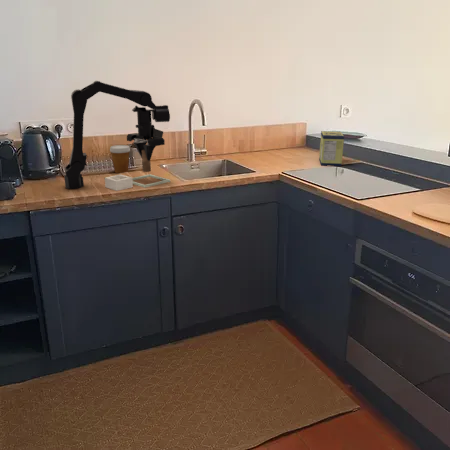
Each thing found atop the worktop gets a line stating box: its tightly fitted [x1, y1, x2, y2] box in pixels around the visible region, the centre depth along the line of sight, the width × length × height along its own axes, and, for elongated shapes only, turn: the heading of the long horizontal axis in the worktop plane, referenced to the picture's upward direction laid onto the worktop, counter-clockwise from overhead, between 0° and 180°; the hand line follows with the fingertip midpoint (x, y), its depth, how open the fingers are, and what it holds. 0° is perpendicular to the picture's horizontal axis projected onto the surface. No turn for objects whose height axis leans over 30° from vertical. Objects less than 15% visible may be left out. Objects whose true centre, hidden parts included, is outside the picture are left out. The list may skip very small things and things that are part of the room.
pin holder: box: [104, 173, 134, 192], centre depth 195 cm, size 8×8×5 cm
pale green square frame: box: [132, 173, 171, 189], centre depth 205 cm, size 14×14×2 cm
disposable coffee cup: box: [109, 144, 131, 174], centre depth 223 cm, size 10×10×12 cm
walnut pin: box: [141, 150, 152, 173], centre depth 202 cm, size 4×4×9 cm
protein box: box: [318, 130, 345, 167], centre depth 246 cm, size 10×16×16 cm
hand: (146, 159), depth 202 cm, fingers closed on walnut pin, 3 cm apart
